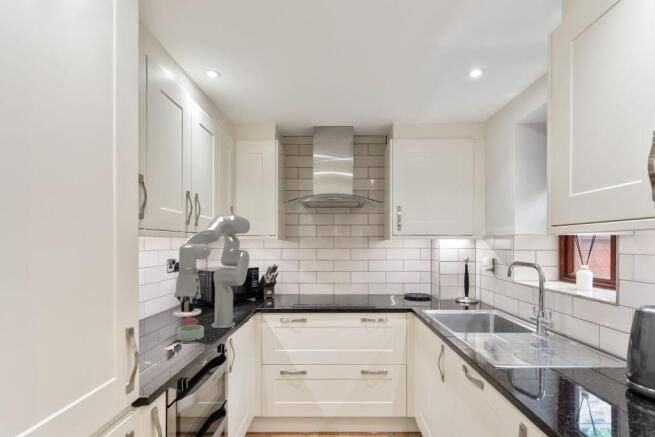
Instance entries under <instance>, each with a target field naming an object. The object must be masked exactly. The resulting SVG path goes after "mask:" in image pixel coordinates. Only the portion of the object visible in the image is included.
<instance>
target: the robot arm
mask: <svg viewBox="0 0 655 437" xmlns="http://www.w3.org/2000/svg"><path fill="white" fill-rule="evenodd" d="M250 229H251V223H250V221H249V220H248V219H247V218H246V217H245V218H244V217H242V216H239V215H235V214H220V215H219V214H218V215H217V216H216V217H214V219H213V220H212V221H211V222H210V223H209V224H208V226H207V227H206V228H204V229H202V230H201V231H199V232H196V233H195V234H193V235H191V236H189V237H188V238H187V239H186V240H185V241H184V242H183V243H182V245H180V246H179V250H178V252H179V253H178V256H179V258H178V263H179V264H178V275H177V277H176V283H175V285H176V286H175V293H174V295H173V297H174V298H176V299H177V300H178V301H179V303H180V310H181V311H182V312H184V302H185V301H186V298H187V297H189V301H190V303H189V312H192V311H194V308H195V302H196V301H197V300H198V299H200V298H202V294H201V282H200V277H199V274H198V273H199V272H200V270H199V269H198V268H197V260H205V259H208V258H209V257H210V255H211V252H212V251H211V248H210V244H213V243H215V242H217V241H218V240H219V239H220V238H221V237H222V235H223V239H224V245H223V250H222V253H221V258H220V264H221V265H222V266H224V267H220V268H217V269H216V270H215V271H214V273H213V282H214V322H212V323H211V328H214V329H228V328H232V327H234V326H236V322H235V321H233V320H234V319H235V315H234V314H233V311H234V309H233V307H234V293H233V290H232V289H233V288H232V286H233V287H234V286H235V287H240V286H241V287H242V286H243V284H245V282H246V278H247V274H248V269H249V264H250V255H249V252H248V251H247V250H245V249H240V246H241V241H240V239H239V238H238V236H237V234H238V235H239V234H241V235H242V234H244V235H245V234H247V233H249V231H250ZM208 244H209V245H208Z"/></svg>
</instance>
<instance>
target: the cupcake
mask: <svg viewBox="0 0 655 437" xmlns="http://www.w3.org/2000/svg"><path fill="white" fill-rule="evenodd" d="M189 325H199V320H198V319H197V318H196V317H194V316H187V317H185V318H183V319H182V320H181V322H180V326H181V327H183V326H189Z"/></svg>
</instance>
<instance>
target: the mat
mask: <svg viewBox="0 0 655 437" xmlns="http://www.w3.org/2000/svg"><path fill="white" fill-rule="evenodd" d="M179 343H180V342H175V343H173V344H170V345H169V346H167V347H164V348H163V350H167V351H168V350H170V349H173V348H174V346H176V345H177V344H179ZM170 351H171V350H170Z"/></svg>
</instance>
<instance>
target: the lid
mask: <svg viewBox="0 0 655 437" xmlns="http://www.w3.org/2000/svg"><path fill="white" fill-rule="evenodd" d="M189 303H190V300H187V301H186V300H185V302H184V312H182V311H181V309H178V310H174V311H173V313H172V314H173V316H174V317H178V318H181V317H182V318H184V317H185V318H188V316H189V317H194V316H198V315H200V314H202V309H201V308H195V307H194V311H192V312H189Z"/></svg>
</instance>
